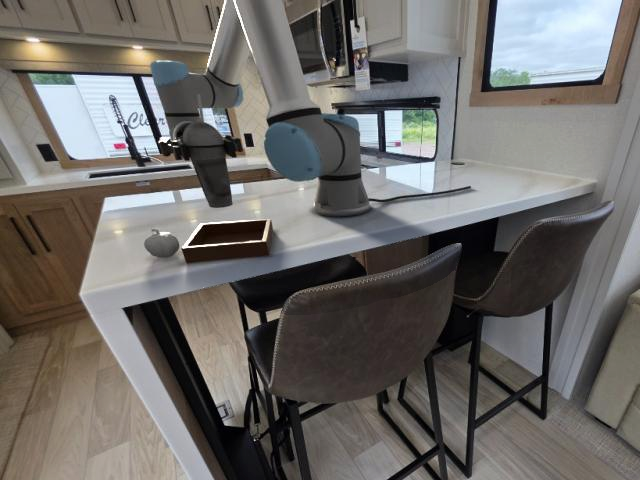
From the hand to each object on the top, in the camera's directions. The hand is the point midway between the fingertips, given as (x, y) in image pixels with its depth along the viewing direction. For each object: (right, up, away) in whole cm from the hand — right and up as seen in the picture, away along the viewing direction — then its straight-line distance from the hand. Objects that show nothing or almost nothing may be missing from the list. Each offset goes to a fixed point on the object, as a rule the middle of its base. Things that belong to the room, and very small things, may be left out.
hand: (209, 151), depth 61 cm
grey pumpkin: (-10, -19, +3) cm, 22 cm away
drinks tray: (+1, -16, +8) cm, 18 cm away
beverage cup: (-3, -7, +9) cm, 12 cm away
